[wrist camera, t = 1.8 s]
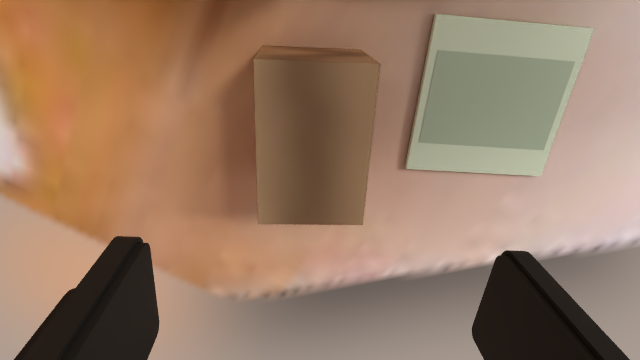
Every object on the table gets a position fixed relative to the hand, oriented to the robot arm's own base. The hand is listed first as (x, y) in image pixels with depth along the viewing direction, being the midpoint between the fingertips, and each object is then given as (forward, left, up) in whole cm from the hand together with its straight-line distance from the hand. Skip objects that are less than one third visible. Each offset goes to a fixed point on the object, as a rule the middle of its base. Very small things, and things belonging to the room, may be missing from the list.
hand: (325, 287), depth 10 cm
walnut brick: (0, 0, -17) cm, 17 cm away
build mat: (-12, -2, -16) cm, 20 cm away
